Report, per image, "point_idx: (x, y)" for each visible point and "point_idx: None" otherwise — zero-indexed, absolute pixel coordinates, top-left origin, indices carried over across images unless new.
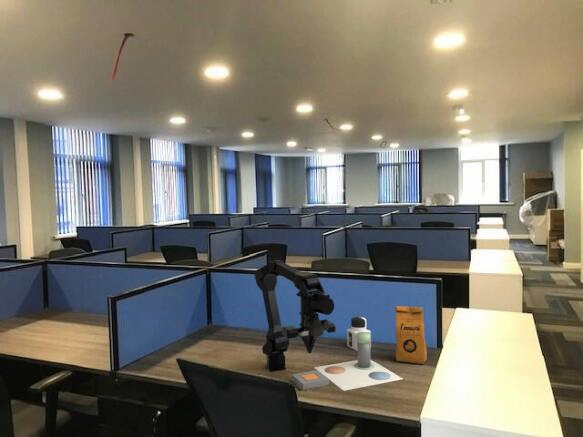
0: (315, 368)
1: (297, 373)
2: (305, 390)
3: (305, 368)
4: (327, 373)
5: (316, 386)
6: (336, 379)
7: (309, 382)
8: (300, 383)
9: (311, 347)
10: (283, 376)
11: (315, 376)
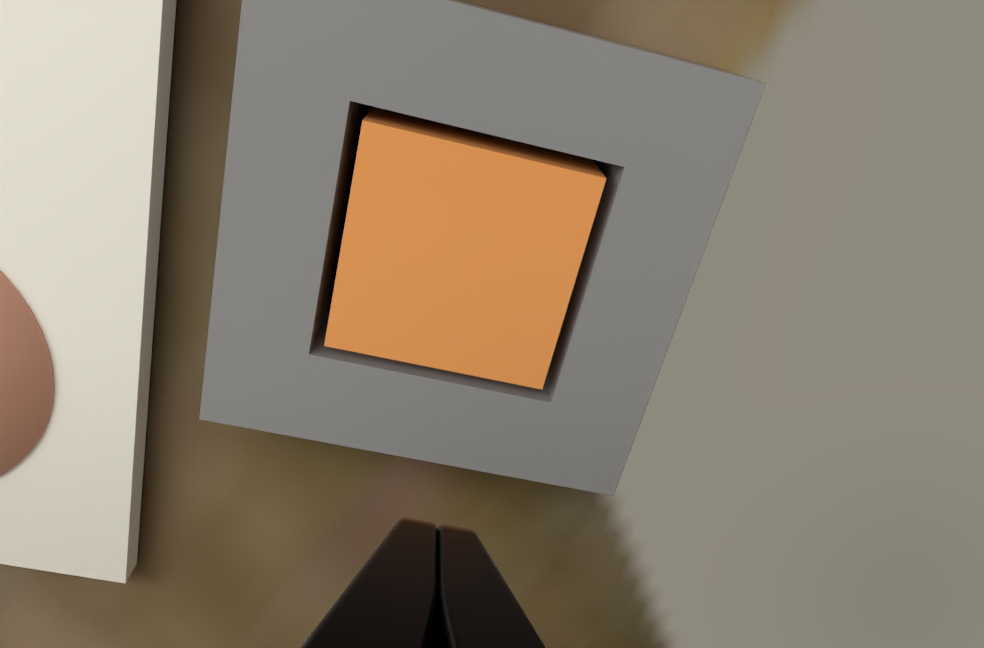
0: (126, 552)
1: (529, 479)
2: (689, 61)
3: (217, 641)
4: (59, 327)
5: (508, 14)
6: (46, 38)
7: (626, 75)
8: (721, 181)
9: (392, 643)
10: (581, 600)
11: (379, 223)
